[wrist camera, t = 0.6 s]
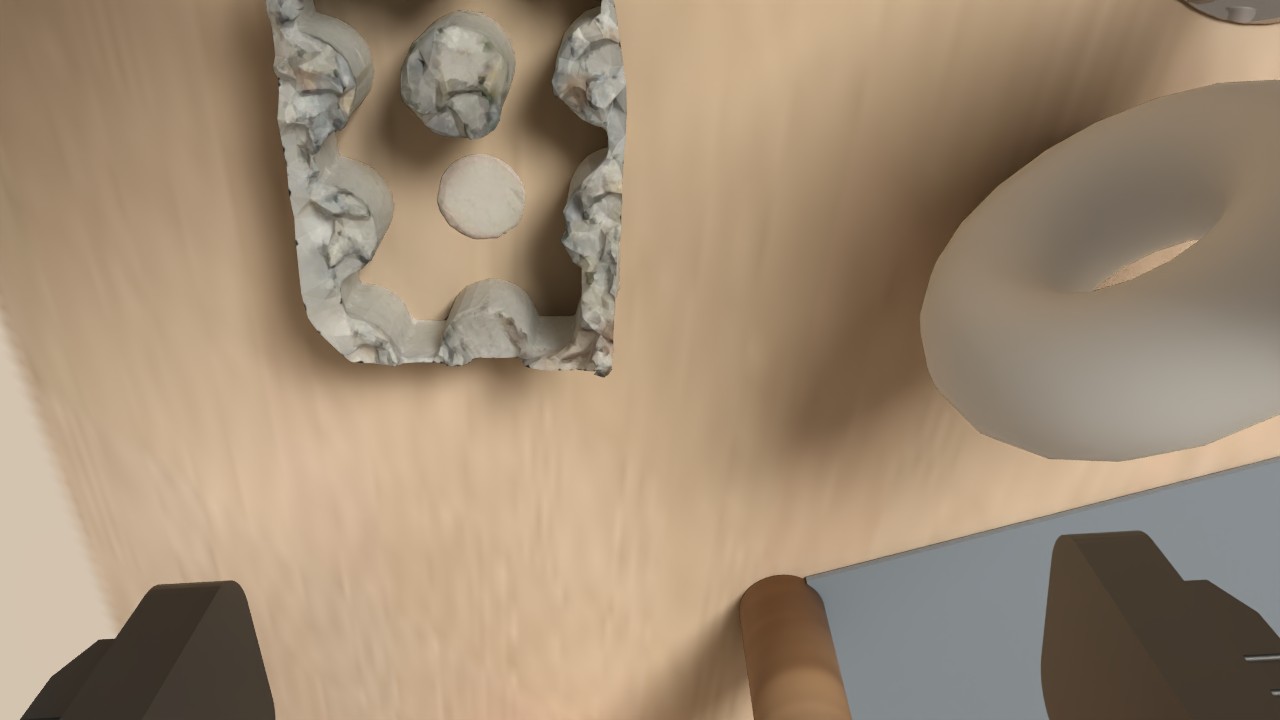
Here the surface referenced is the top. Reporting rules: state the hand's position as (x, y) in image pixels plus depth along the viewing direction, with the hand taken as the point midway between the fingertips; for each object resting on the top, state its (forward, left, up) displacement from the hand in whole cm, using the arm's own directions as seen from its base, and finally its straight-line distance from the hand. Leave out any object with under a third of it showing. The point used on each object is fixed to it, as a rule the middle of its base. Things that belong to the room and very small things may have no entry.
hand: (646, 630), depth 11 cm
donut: (+4, +10, -18) cm, 21 cm away
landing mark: (+21, +8, -18) cm, 29 cm away
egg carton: (-1, -4, -18) cm, 19 cm away
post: (+15, 0, -18) cm, 23 cm away
